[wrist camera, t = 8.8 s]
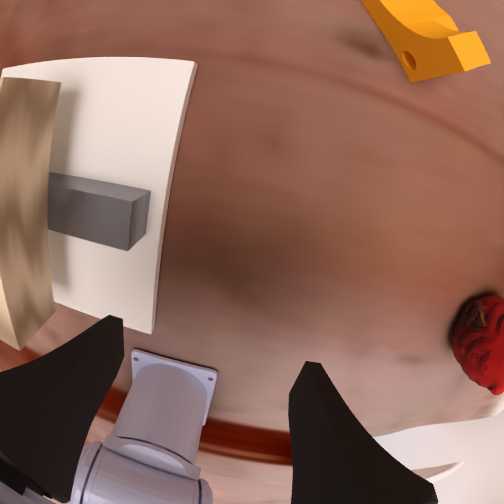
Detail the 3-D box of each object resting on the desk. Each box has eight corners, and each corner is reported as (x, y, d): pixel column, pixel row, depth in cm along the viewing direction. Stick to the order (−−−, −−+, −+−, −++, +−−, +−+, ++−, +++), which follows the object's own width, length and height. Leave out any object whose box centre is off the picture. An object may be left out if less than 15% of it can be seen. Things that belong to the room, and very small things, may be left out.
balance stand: (154, 327, 23) (139, 359, 19) (4, 272, 22) (-19, 290, 18) (197, 65, 15) (181, 48, 12) (10, 69, 14) (-21, 67, 11)
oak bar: (55, 311, 18) (20, 350, 14) (24, 297, 18) (-12, 331, 13) (61, 82, 12) (3, 76, 7) (25, 85, 12) (-30, 84, 7)
